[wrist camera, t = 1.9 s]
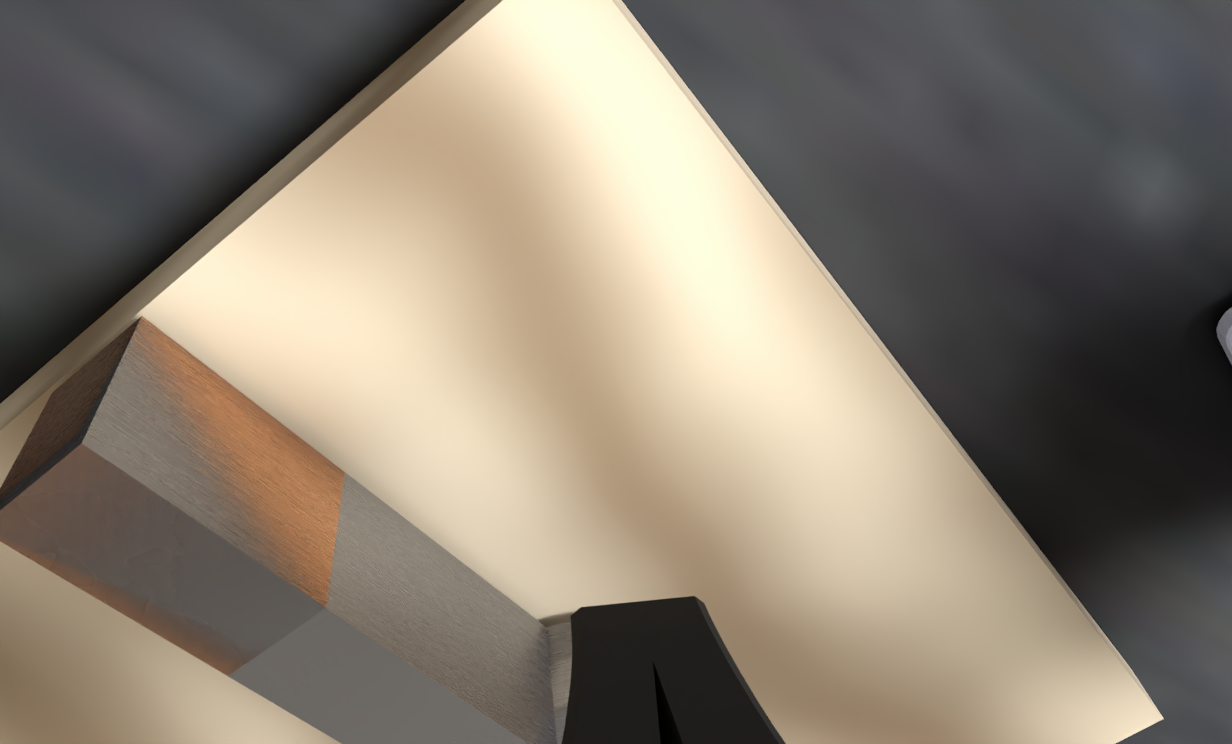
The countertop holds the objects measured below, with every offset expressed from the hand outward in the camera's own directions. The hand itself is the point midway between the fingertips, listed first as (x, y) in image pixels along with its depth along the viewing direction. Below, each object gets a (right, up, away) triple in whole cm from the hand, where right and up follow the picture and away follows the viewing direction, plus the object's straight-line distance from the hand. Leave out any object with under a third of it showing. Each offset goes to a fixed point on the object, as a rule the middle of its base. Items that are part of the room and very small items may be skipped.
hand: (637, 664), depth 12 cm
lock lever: (-3, -1, +8) cm, 9 cm away
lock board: (-3, -3, +12) cm, 13 cm away
